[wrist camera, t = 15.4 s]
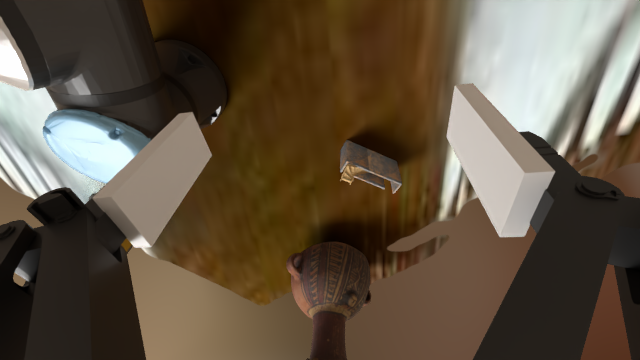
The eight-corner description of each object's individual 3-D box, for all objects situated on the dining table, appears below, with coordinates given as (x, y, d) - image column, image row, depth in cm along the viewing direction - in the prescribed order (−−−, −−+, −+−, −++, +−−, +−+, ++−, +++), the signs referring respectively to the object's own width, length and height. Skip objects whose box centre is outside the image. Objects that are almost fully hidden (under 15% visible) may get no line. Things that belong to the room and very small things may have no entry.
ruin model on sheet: (339, 150, 57) (338, 180, 50) (346, 138, 55) (346, 168, 48) (388, 170, 59) (394, 202, 52) (396, 160, 58) (403, 191, 50)
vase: (391, 247, 75) (411, 382, 51) (349, 281, 86) (350, 403, 63) (309, 210, 68) (290, 345, 45) (276, 251, 79) (246, 376, 56)
